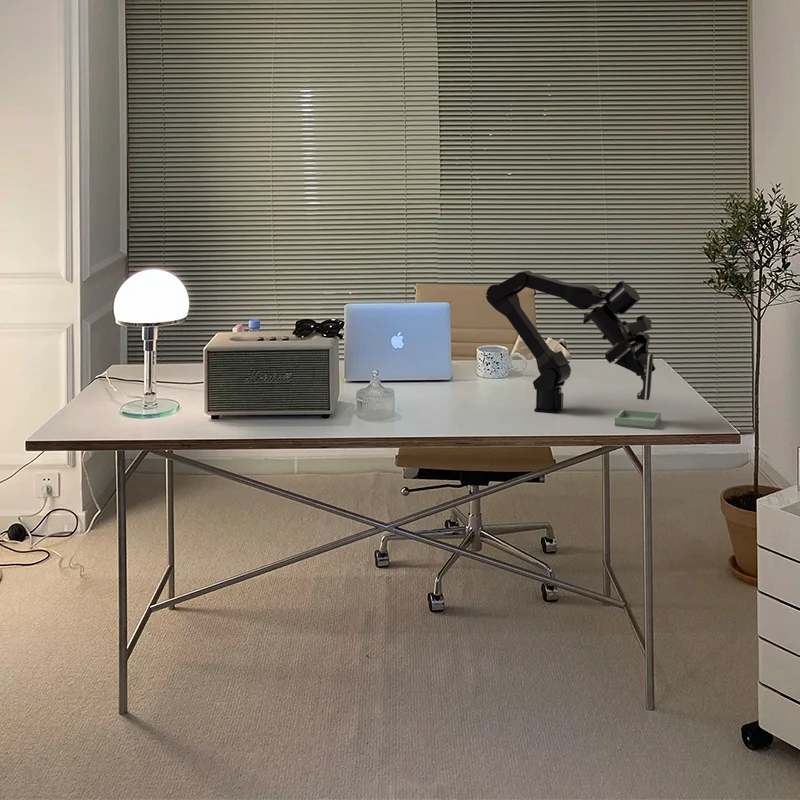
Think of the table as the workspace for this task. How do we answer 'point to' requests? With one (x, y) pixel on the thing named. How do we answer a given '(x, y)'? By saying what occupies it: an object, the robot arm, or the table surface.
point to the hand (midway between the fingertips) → (649, 372)
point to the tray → (638, 419)
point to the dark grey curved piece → (646, 364)
